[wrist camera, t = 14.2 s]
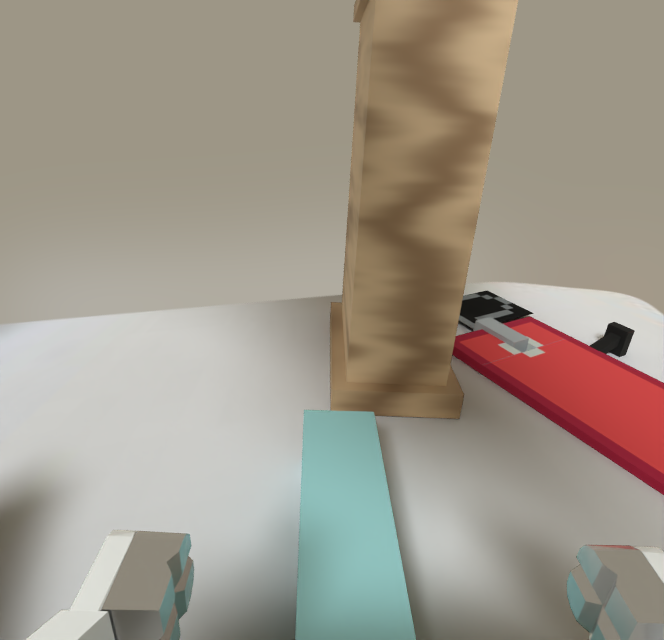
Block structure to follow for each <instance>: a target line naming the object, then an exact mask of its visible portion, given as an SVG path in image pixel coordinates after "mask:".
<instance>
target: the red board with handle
mask: <svg viewBox="0 0 664 640" xmlns="http://www.w3.org/2000/svg"><path fill="white" fill-rule="evenodd" d="M530 314H533V313H532V312H530V311H528V310H526V309H524V308H522V307H520V306H517V305H515V304H513V303H511V302H509V301H507V300H505V299H503V298H501V297H499V296H497V295H495V294H493V293H491V292H489V291H483V292H478V293H474V294H469V295H465V296H463V299H462V304H461V310H460V315H459V321H461V322H462V323H464V324H466V325H468V326H469V327H471V328H473V329H474V331H473V332H470V333H466V334H462V335H459V336H455V342H454V347H453V353H452V355H454V356H455V357H457V358H458V359H460V360H461V361H463V362H464V363H466V364H467V365H469V366H470V367H472V368H473V369H475V370H476V371H478V372H479V373H481V374H482V375H484V376H485V377H487V378H488V379H490V380H491V381H493V382H494V383H496V384H497V385H499V386H500V387H502V388H503V389H505V390H506V391H508V392H509V393H511V394H512V395H514V396H515V397H517V398H518V399H520V400H521V401H523V402H524V403H526V404H527V405H529V406H530V407H532V408H533V409H535V410H536V411H538V412H539V413H541V414H542V415H544V416H545V417H547V418H548V419H550V420H551V421H553V422H554V423H556V424H557V425H559V426H560V427H562V428H563V429H565V430H567V431H568V432H570V433H571V434H573V435H574V436H576V437H577V438H579V439H580V440H582V441H583V442H585V443H586V444H588V445H589V446H591V447H592V448H594V449H595V450H597V451H598V452H600V453H601V454H603V455H604V456H606V457H607V458H609V459H610V460H612V461H613V462H615V463H616V464H618V465H619V466H621V467H622V468H624V469H625V470H627V471H628V472H630V473H631V474H633V475H634V476H636V477H637V478H639V479H640V480H642V481H643V482H645V483H646V484H648V485H649V486H651V487H652V488H654V489H655V490H657V491H658V492H660V493H661V494H663V495H664V383H663V382H661V381H659V380H657V379H655V378H653V377H651V376H649V375H647V374H645V373H643V372H641V371H639V370H637V369H635V368H633V367H631V366H629V365H627V364H625V363H623V362H621V361H618V360H616V359H614V358H612V357H610V356H608V355H606V353H608V352H610V353H612V354H614V355H616V356H619V357H621V356H624V355H626V352H627V350H628V347H629V344H630V342H631V339H632V336H633V334H634V330H632V329H630V328H627V327H625V326H623V325H621V324H618V323H616V322H613V323H610V324H608V327H607V330H606V332H605V335H604V337H603V338H601V339H600V340H598V341H596V342H595V343H593V344H592V345H590V346H588V345H586V344H584V343H582V342H580V341H578V340H576V339H574V338H572V337H570V336H568V335H566V334H564V333H562V332H560V331H558V330H556V329H554V328H552V327H550V326H548V325H546V324H544V323H542V322H540V321H538V320H536V319H534V318H532V317H530V316H529V317H525V318H522V319H518V320H514V321H511V322H507V323H503V324H502V323H500V322H503V321H507V320H511V319H515V318H518V317H522V316H526V315H530Z"/></svg>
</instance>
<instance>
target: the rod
mask: <svg viewBox="0 0 664 640" xmlns="http://www.w3.org/2000/svg"><path fill="white" fill-rule="evenodd" d="M295 640H416V636H415V631H414V625H413V620H412V615H411V609H410V604H409V599H408V593H407V588H406V582H405V577H404V572H403V566H402V561H401V555H400V550H399V545H398V539H397V534H396V528H395V523H394V518H393V512H392V507H391V501H390V496H389V491H388V485H387V480H386V474H385V469H384V464H383V458H382V453H381V448H380V442H379V437H378V431H377V426H376V421H375V415H374V412H366V411H328V410H304V424H303V450H302V477H301V503H300V529H299V555H298V581H297V607H296V633H295Z"/></svg>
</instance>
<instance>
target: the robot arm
mask: <svg viewBox="0 0 664 640" xmlns="http://www.w3.org/2000/svg"><path fill="white" fill-rule="evenodd" d="M190 548H191V540H190V534H183V533H166V532H149V531H128V530H113V531H112V532H111V533H110V534H109V535H108V536H107V537H106V539H105V541H104V543H103V545H102V547H101V549H100V551H99V553H98V555H97V557H96V559H95V561H94V563H93V565H92V567H91V569H90V571H89V573H88V575H87V576H86V578H85V580H84V582H83V584H82V586H81V588H80V590H79V592H78V594H77V596H76V598H75V600H74V602H73V604H72V606H71V608H70V610H61V611H59V612H58V613H57V614H56V615H55V616H53V617H52V618H51V619H50V620H48V621H47V622H46V623H45V624H44V625H42V626H41V627H40V628H39V629H37V630H36V631H35V632H34V633H33V634H31V635H30V636H29V637H28V638H27V639H25V640H179V638H180V627H179V619H180V618H181V617H182V616H183V615H184V614H185V613H186V612H187V609H188V605H189V601H190V598H191V592H192V586H193V578H194V566H193V560H192V559H191V558H190V557H189V556H188V555H189V551H190ZM577 559H578V561H579V563H580V565H579V566H577V567H576V568H575V569H573V570H572V571H570V574H569V577H568V580H567V597H568V600H569V604H570V607H571V610H572V612H573V614H574V616H575V618H576V621H577V622H578V623H579V624H580V625H582V626H583V627H584V628H585V629H586V630H587V631H588V632H589V633H590V635H589V640H664V551H663V550H662V549H660V548H659V547H640V546H622V545H585V546H583V547H582V548H580V550H579V552H578V554H577Z"/></svg>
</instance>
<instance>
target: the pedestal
mask: <svg viewBox="0 0 664 640" xmlns="http://www.w3.org/2000/svg"><path fill="white" fill-rule="evenodd" d="M517 4H518V0H356V2H355V5H354V20H353V21H354V22H360V37H359V52H358V66H357V81H356V97H355V112H354V127H353V142H352V157H351V172H350V188H349V204H348V218H347V233H346V248H345V263H344V278H343V294H342V303H337V302H331V312H330V388H331V411H366V412H374V415H375V416H401V417H427V418H454V419H459V417H460V413H461V408H462V403H463V398H464V393H463V391H462V389H461V387H460V385H459V383H458V380H457V378H456V376H455V374H454V372H453V370H452V367H451V365H450V363H451V358H452V353H453V347H454V342H455V336H456V331H457V326H458V320H459V315H460V310H461V304H462V299H463V294H464V288H465V283H466V277H467V272H468V267H469V261H470V256H471V251H472V245H473V239H474V234H475V229H476V224H477V218H478V213H479V208H480V202H481V196H482V192H483V186H484V181H485V175H486V170H487V165H488V160H489V154H490V149H491V143H492V138H493V132H494V127H495V122H496V117H497V111H498V106H499V101H500V95H501V90H502V84H503V79H504V73H505V68H506V62H507V57H508V52H509V47H510V42H511V36H512V30H513V25H514V20H515V14H516V9H517Z"/></svg>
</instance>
